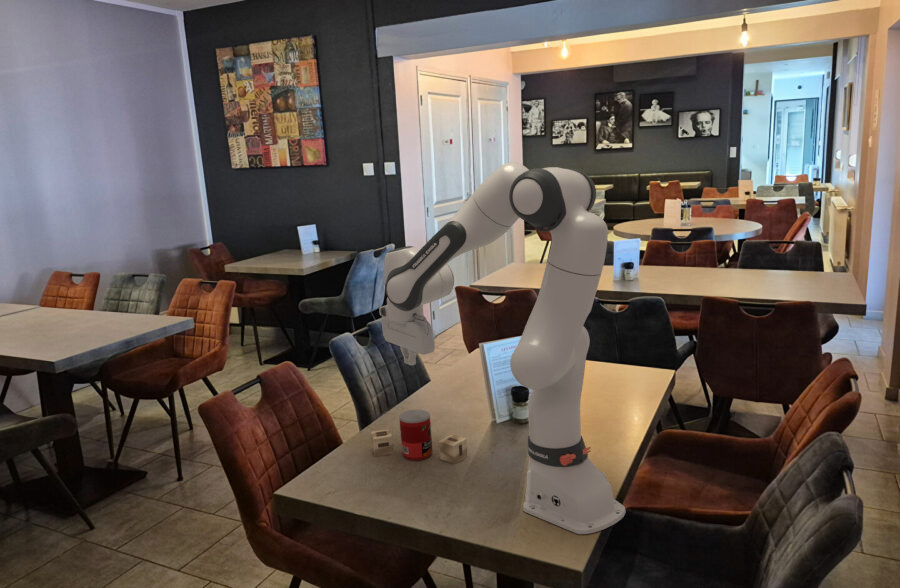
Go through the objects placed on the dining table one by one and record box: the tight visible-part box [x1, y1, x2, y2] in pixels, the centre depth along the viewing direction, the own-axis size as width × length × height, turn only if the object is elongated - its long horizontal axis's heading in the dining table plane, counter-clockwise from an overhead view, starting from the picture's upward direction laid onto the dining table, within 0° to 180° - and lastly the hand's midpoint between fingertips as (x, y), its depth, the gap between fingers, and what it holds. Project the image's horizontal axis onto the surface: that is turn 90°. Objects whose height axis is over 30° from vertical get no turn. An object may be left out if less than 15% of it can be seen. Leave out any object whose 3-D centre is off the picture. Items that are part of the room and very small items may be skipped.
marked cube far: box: [370, 428, 395, 457], centre depth 173 cm, size 5×5×5 cm
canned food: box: [399, 409, 433, 461], centre depth 169 cm, size 8×8×11 cm
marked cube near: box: [438, 434, 468, 465], centre depth 166 cm, size 5×5×5 cm
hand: (410, 364), depth 165 cm, fingers closed
